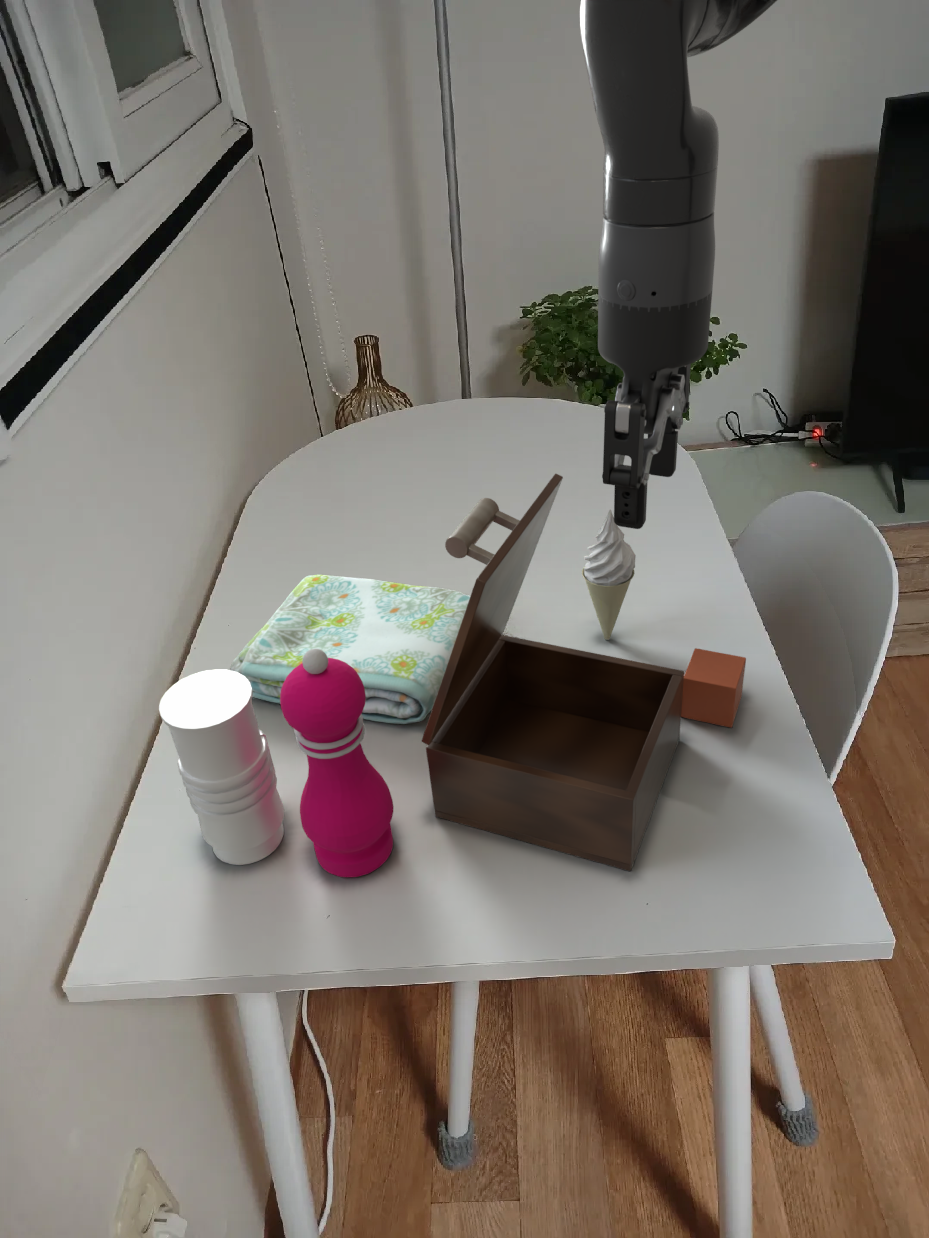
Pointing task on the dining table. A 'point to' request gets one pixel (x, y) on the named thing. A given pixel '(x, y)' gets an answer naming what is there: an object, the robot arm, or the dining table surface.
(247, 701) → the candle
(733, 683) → the block
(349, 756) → the pepper mill
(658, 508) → the dining table surface
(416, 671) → the towel
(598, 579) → the ice cream cone
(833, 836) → the dining table surface
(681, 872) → the dining table surface
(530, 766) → the chest
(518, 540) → the lid
